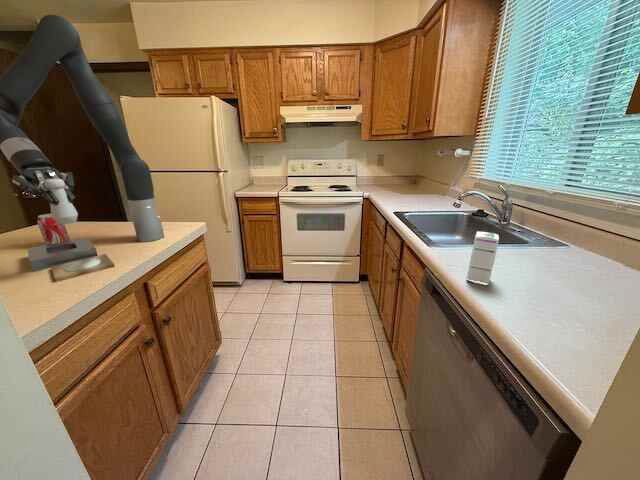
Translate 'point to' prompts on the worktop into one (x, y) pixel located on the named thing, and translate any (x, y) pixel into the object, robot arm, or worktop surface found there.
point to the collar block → (60, 253)
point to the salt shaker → (61, 203)
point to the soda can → (52, 230)
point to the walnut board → (81, 267)
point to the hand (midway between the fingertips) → (64, 202)
